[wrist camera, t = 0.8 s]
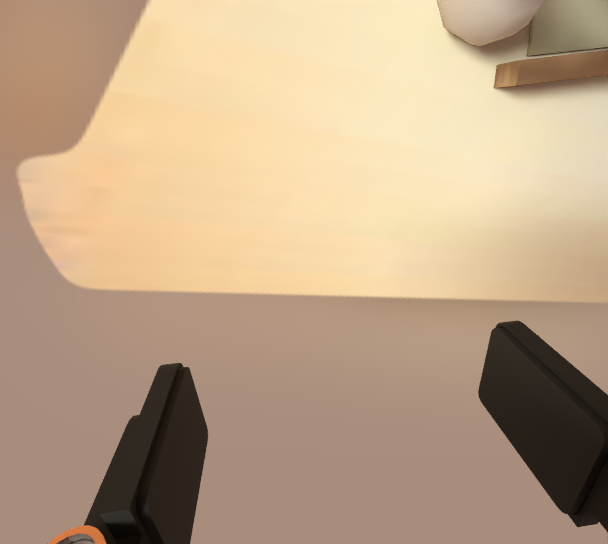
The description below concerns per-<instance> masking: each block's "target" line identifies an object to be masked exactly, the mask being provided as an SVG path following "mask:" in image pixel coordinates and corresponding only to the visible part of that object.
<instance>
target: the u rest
mask: <svg viewBox="0 0 608 544" xmlns="http://www.w3.org/2000/svg"><path fill="white" fill-rule="evenodd" d="M604 47H608V0H546V1H545V2H544V4H543V5H542V6H541V8H540V9H539V11H538V12H537V13H536V15H535V16H534V17H533V19H532V25H531V31H530V38H529V44H528V51H527V56H532V55H541V54H550V53H559V52H568V51H577V50H586V49H595V48H604ZM602 75H608V50H606V51H597V52H588V53H580V54H571V55H562V56H553V57H544V58H535V59H526V60H519V61H514V62H510V63H505V64H500V65H497V68H496V76H495V84H494V88H498V87H507V86H515V85H524V84H533V83H541V82H550V81H559V80H567V79H576V78H584V77H593V76H602Z"/></svg>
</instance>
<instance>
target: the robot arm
mask: <svg viewBox="0 0 608 544" xmlns="http://www.w3.org/2000/svg"><path fill="white" fill-rule="evenodd" d="M478 393H479V398H480V400H481V402H482V404H483V405H484V406H485V408H486V409H487V411H488V412H489V413H490V415H491V416H492V418H493V419H494V420H495V422H496V423H497V424H498V426H499V427H500V428H501V430H502V431H503V433H504V434H505V435H506V437H507V438H508V440H509V441H510V442H511V444H512V445H513V446H514V448H515V449H516V451H517V452H518V453H519V455H520V456H521V457H522V459H523V460H524V462H525V463H526V464H527V466H528V467H529V469H530V470H531V471H532V472H533V474H534V475H535V477H536V478H537V480H538V481H539V482H540V484H541V485H542V487H543V488H544V489H545V491H546V492H547V493H548V494H549V496H550V498H551V499H552V500H553V502H554V503H555V504H556V506H557V507H558V508H559V509H560V510H561V511H562V512H563V513H565V514H568V515H569V517H570V518H571V519H572V521H573V522H574V523H575V525H576V526H577V527H581V526H587V525H593V524H597V523H598V522H600V523H601V525H602V526H603V527H604V528H605V529H606V531H607V536H608V395H607V394H606V393H605V392H603V391H602V390H601V389H600V388H599V387H598V386H596V385H595V384H594V383H593V382H591V380H589V379H588V378H587V377H586V376H585V375H583V374H582V373H581V372H580V371H579V370H577V369H576V368H575V367H574V366H573V365H572V364H570V363H569V362H568V361H567V360H566V359H565V358H563V357H562V356H561V355H560V354H559V353H558V352H556V351H555V350H554V349H553V348H552V347H550V346H549V345H548V344H547V343H546V342H545V341H543V340H542V339H541V338H540V337H539V336H538V335H536V334H535V333H534V332H533V331H532V330H531V329H529V328H528V327H527V326H526V325H525V324H523V323H522V322H520V321H511V322H503V323H498V324H497V326H496V328H494V329H493V330H492V332H491V336H490V341H489V345H488V350H487V354H486V359H485V363H484V368H483V373H482V377H481V381H480V386H479V391H478ZM207 441H208V430H207V426H206V422H205V419H204V416H203V412H202V409H201V405H200V403H199V399H198V395H197V392H196V389H195V386H194V382H193V379H192V375H191V372H190V369H189V367H183V365H182V364H181V363H175V364H167V365H161V366H160V367H159V368H158V371H157V373H156V376H155V378H154V381H153V383H152V386H151V388H150V391H149V393H148V396H147V398H146V401H145V403H144V406H143V408H142V410H141V413H140V415H136V416H133V417H132V418H131V419H130V420H129V422H128V424H127V426H126V428H125V431H124V433H123V435H122V438H121V440H120V442H119V445H118V447H117V450H116V452H115V454H114V456H113V459H112V461H111V463H110V466H109V468H108V470H107V473H106V475H105V477H104V479H103V482H102V484H101V486H100V489H99V491H98V493H97V496H96V498H95V500H94V503H93V505H92V507H91V510H90V512H89V514H88V517H87V519H86V521H85V524H84V526H77V527H74V528H72V529H69V530H66V531H65V532H63V533H61V534H60V535H58V536H57V537H55V538H54V539H53V540H51V541H50V542H49V543H48V544H190V540H191V535H192V528H193V523H194V517H195V511H196V505H197V500H198V494H199V488H200V482H201V476H202V470H203V464H204V459H205V453H206V447H207Z"/></svg>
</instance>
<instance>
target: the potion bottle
mask: <svg viewBox="0 0 608 544" xmlns="http://www.w3.org/2000/svg"><path fill="white" fill-rule="evenodd" d="M545 1H546V0H437V2H438V6H439V10H440V14H441V18H442V22H443V26H444V28H446V30H448V31H450V32H451V33H453V34H454V35H456V36H458V37H459V38H461V39H463V40H464V41H466V42H468V43H469V44H472V45H477V46H483V45H486V44H489V43H492V42H495V41H498V40H501V39H504V38H507V37H510V36H513V35H515V34H516V33H518V32H519V31H520V30H521V29H523V28H524V27H525V26H526V25H528V24H529V23H530V21H531V20H532V19H533V17H534V16H535V15H536V13H537V12H538V11H539V9H540V8H541V6H542V5H543V4H544V2H545Z"/></svg>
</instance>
